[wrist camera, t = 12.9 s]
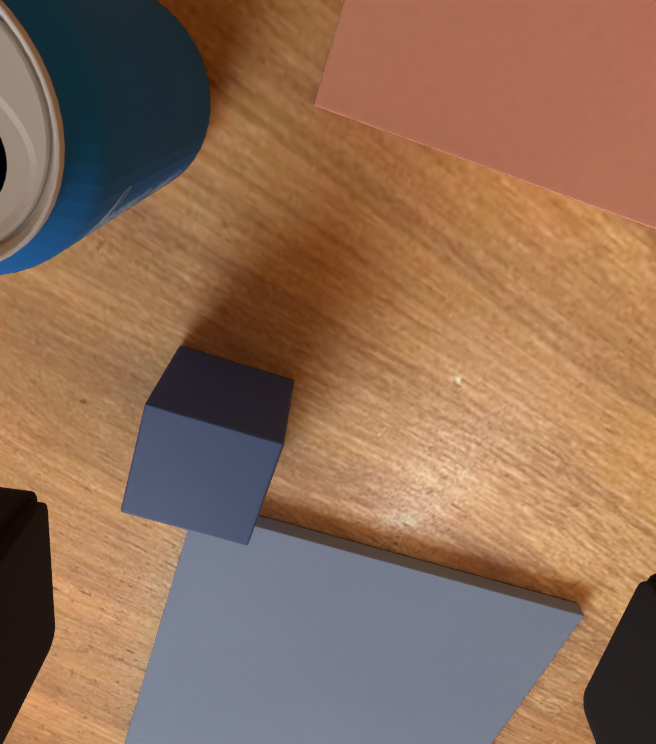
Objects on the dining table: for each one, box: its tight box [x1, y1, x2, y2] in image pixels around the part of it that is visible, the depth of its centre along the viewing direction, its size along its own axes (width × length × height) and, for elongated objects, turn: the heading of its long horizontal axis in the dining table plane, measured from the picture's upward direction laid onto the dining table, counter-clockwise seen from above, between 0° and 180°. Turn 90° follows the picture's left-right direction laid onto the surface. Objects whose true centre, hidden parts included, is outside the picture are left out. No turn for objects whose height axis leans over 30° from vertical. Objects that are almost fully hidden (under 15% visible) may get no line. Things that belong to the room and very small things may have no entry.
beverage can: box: [0, 0, 210, 275], centre depth 16 cm, size 6×6×12 cm
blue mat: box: [125, 516, 584, 744], centre depth 34 cm, size 20×20×1 cm
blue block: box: [121, 346, 294, 545], centre depth 25 cm, size 5×5×5 cm
